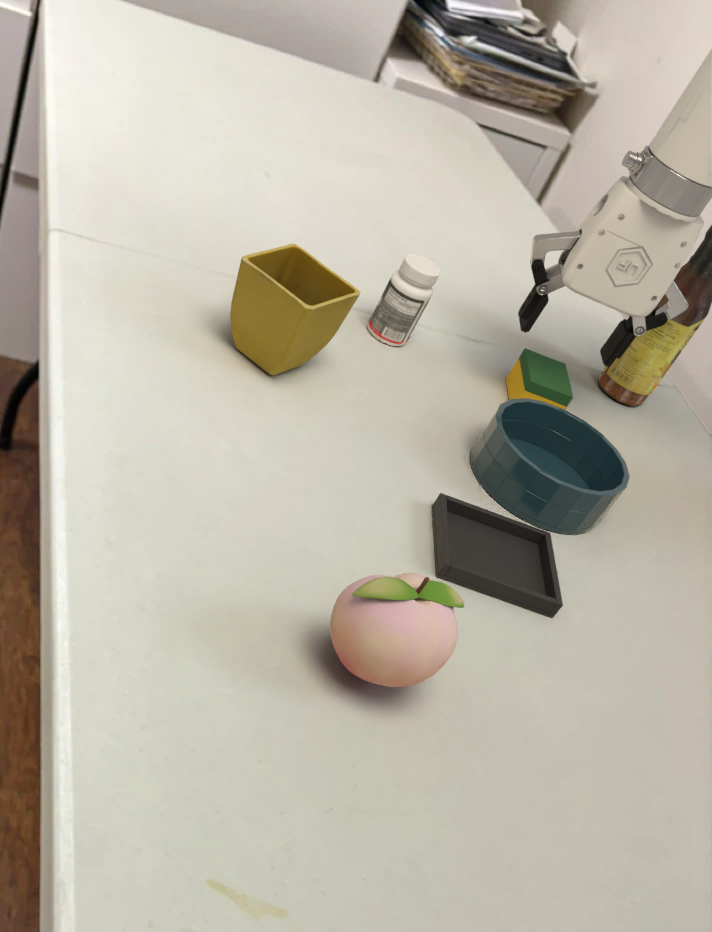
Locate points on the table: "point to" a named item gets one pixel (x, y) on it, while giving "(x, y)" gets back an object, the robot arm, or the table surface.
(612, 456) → the bowl
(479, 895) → the table surface
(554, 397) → the sponge
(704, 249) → the sauce bottle
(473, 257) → the table surface
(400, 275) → the pill bottle
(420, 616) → the decorative fruit
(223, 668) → the table surface
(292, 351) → the flower pot
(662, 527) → the table surface
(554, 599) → the sponge tray
